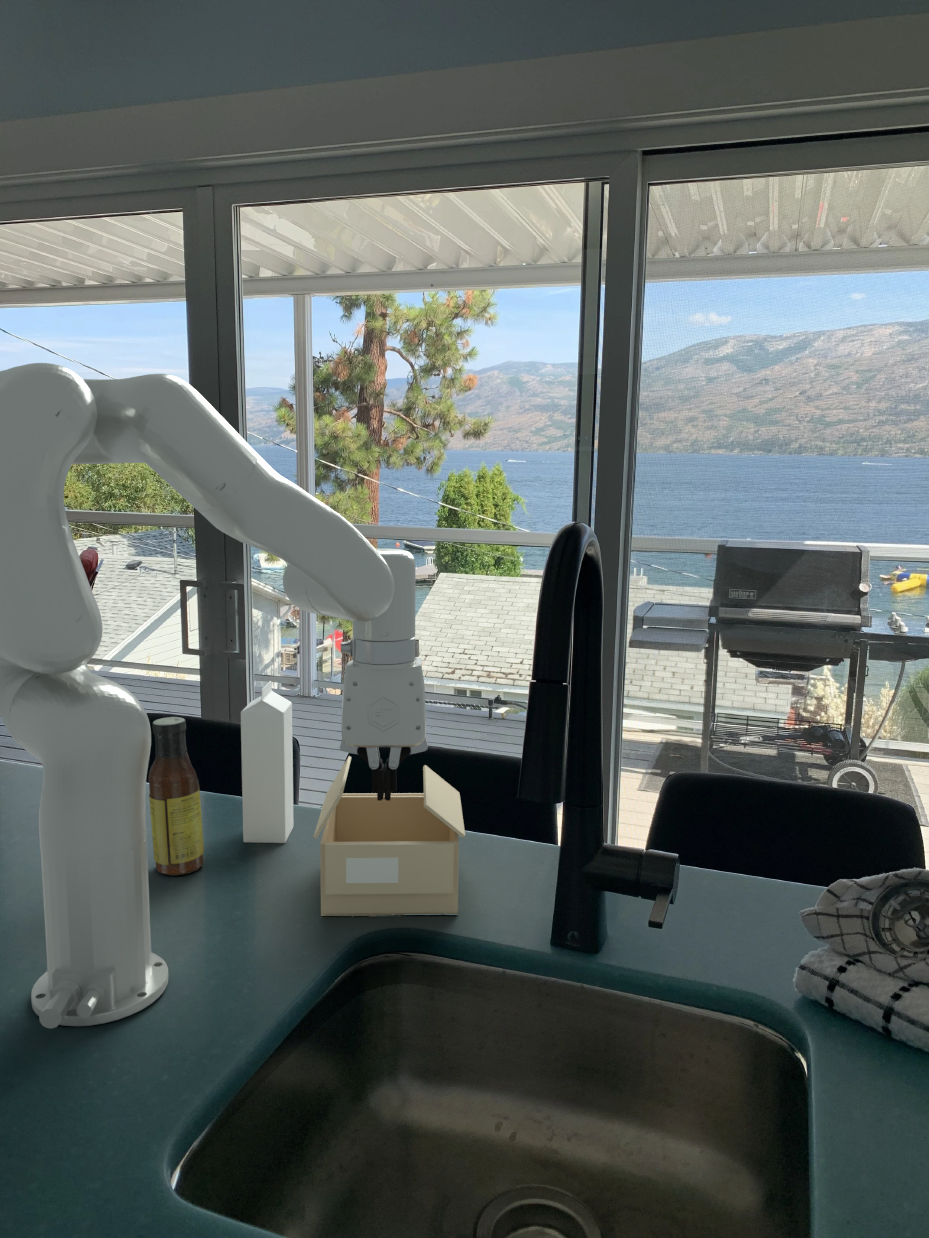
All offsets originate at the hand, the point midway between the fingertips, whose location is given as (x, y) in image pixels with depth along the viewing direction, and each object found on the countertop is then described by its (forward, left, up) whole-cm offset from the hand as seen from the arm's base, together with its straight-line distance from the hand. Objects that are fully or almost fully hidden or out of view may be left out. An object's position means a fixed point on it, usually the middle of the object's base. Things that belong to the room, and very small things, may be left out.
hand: (384, 796), depth 112 cm
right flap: (0, -7, 0) cm, 7 cm away
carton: (0, -1, -12) cm, 12 cm away
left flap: (0, +6, 0) cm, 6 cm away
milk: (+17, +17, -12) cm, 27 cm away
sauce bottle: (+6, +27, -12) cm, 30 cm away
